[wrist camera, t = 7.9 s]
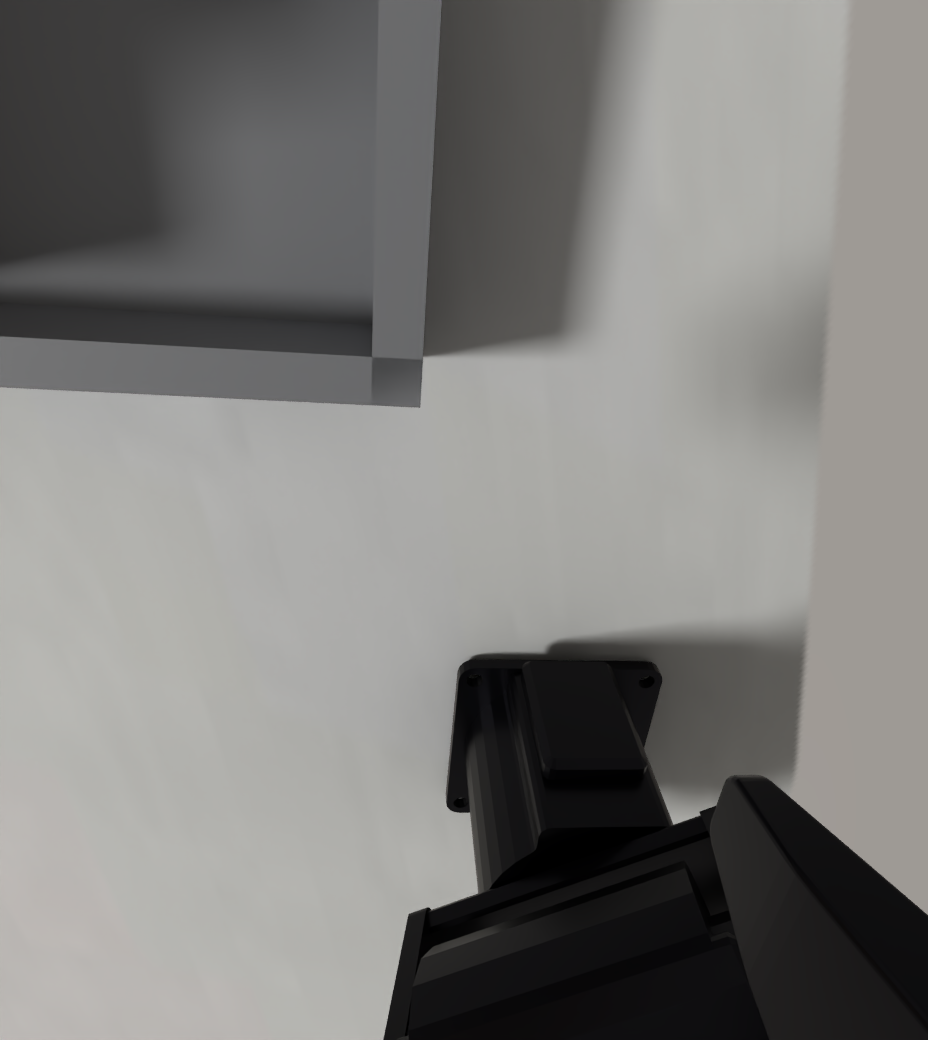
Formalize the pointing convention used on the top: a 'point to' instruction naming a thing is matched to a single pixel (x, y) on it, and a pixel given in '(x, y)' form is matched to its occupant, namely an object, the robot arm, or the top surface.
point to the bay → (217, 197)
